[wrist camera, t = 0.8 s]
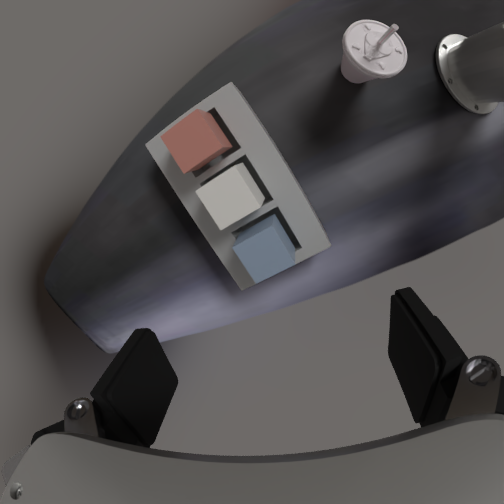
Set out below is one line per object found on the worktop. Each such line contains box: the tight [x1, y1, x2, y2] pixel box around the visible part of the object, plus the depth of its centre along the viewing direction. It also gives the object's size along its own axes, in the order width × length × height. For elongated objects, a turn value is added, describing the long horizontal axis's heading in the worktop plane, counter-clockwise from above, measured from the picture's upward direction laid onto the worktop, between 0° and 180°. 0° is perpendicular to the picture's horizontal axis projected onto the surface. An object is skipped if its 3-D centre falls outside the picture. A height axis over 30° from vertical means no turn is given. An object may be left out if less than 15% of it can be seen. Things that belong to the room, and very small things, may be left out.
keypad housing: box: [146, 82, 331, 291], centre depth 31 cm, size 12×21×5 cm, turn 32°
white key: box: [195, 163, 265, 230], centre depth 27 cm, size 4×4×4 cm
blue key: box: [232, 214, 295, 284], centre depth 29 cm, size 4×4×4 cm
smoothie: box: [341, 20, 407, 84], centre depth 20 cm, size 6×6×14 cm
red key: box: [160, 109, 232, 174], centre depth 25 cm, size 4×4×4 cm
